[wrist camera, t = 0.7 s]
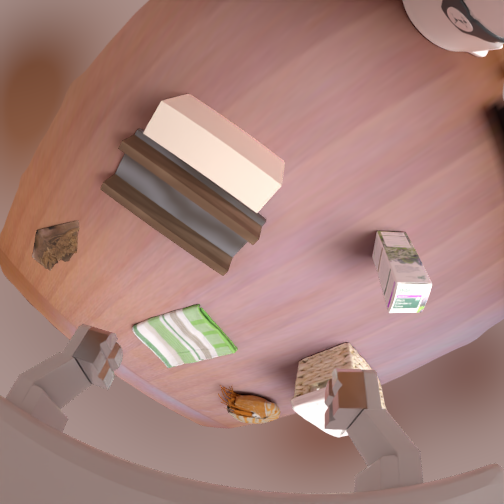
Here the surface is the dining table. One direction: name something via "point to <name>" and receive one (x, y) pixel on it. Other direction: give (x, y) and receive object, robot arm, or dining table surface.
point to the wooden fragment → (55, 244)
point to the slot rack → (182, 203)
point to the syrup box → (400, 273)
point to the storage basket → (324, 383)
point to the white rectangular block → (217, 149)
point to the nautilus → (251, 408)
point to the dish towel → (184, 336)
